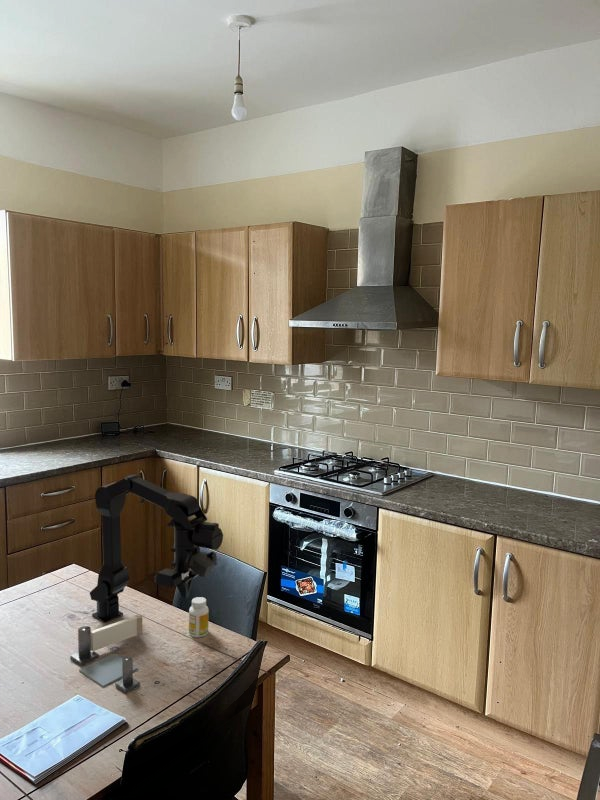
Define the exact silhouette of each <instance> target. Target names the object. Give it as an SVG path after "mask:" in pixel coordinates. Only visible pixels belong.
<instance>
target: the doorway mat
mask: <svg viewBox="0 0 600 800" xmlns="http://www.w3.org/2000/svg"><path fill="white" fill-rule="evenodd" d="M123 658H124V657H121V656H119V655H118V654H116V653H111V654H110V655H108V656H105V657H103V658H101V659H99V660H97V661H95V662H93V663H89V665H88V664H87V665H86V666H85V667H82V668H80V669H79V673H81V674H83V675H84V676H86V677H87V678H89V679H90V680H92V681H93V682H95V683H96V684H97V685H99V686H100V687H101V688H105V687H107V686H109V685H111V684H112V683H114V682H117V681H119V680H121V679H122V659H123ZM137 670H139V667H138V666H136V665H134V664H133V673H134V672H136V671H137Z"/></svg>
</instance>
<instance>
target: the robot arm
mask: <svg viewBox="0 0 600 800" xmlns="http://www.w3.org/2000/svg"><path fill="white" fill-rule="evenodd" d="M130 493H131V494H133V495H136V496H137V497H140V498H141V499H143V500H145V501H147V502H149V503H152V504H154V505H156V506H158V507H160V508H161V509H163V510H164V512H165V514H166V515H167V517H170V518H171V520H170V521H169V522H168V523H167V525H166V526H168V527H170V528H173V535H174V536H173V538H174V544H173V546H171V547H170V550H171V551H170V552H173V554H174V560H173V561H171V562H170V563H171V564H170V566H171V567H174V569H170V568H164V569H162V570H160V571H158V572H157V573H156V574H154V583H155V584H156V585H161V586H164V587H168V588H175V587H176V588H177V590H178V592H179V593H180V595H181V597H182V599H184V600H187V599H188V598H189V596H190V593H191V589H192V586H193V583H194V580H195V578H196V577H198V576H199V577H201V578H204V577H206V576H207V575H209V574H212V572H213V569H214V567H215V566H217V563H218V562H217V561H218V559H217V553H216V552H214V551H216V550H219V549H220V548H221V545H222V543H223V539H224V533H223V530H222V529H221V527H219V526H220V525H219V523H217V522H210V521H209V522H208V518H207V516H206V515H205V512H204V511H203V509H202V507H201V506H200V504H199V501H198V498H196V497H195V496H193V495H190V494H186V493H181V492H180V493H179V492H172V491H170V490H167V488H164V487H161V486H159V485H157V484H155V483H153V482H151V481H148V480H146V479H144V478H142V477H141V476H139V475H138V474H131V475H128V476H126V477H123V478H122V479H120V480H119V481H114V482H111V483H109V484H106V485H103V486H100V487H98V488H97V489H96V490H95V491H94V500H95V506H96V509H97V510H98V512H99V513H100V515H101V525H102V526H101V527H102V556H103V557H102V559H103V564H102V566H101V568H100V570H99V572H98V575H97V576H98V577H97V582H96V583H97V584H96V586H95V587H94V588H93V589H92V590H91V591H89V596H90V600H92V601H95V602H96V612H93V613H92V614H91V616H92V617H94V618H95V619H97V620H98V621H101V622H103V623H108V622H110V621H112V620H115V619H117V618H119V617H121V616H123V615H124V613H123V612H122V611H120V603H119V594H120V593H123V592H124V590H125V588H126V587H127V586H128V584H129V581H130V580H131V579H130V568H129V567H128V566H125V565H124V563H123V562H122V541H121V540H122V536H121V535H122V534H121V513H122V511H123V509H124V507H125V504H126V500H127V499H126V498H127V495H128V494H130ZM192 517H194V518H192ZM190 518H192V519H190ZM201 548H204V549H209V550H211V551H210V552H209V553H208V552H205V551H201ZM212 550H213V551H212Z"/></svg>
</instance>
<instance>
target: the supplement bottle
mask: <svg viewBox="0 0 600 800" xmlns="http://www.w3.org/2000/svg"><path fill="white" fill-rule="evenodd" d="M209 611H210V610H209V607H208V606H207V599H206V598H205V597H203V596H201V597H200V596H199V597H198V596H196V597H194V598H192V600H191V606H190V607H189V610H188V633H189V636H191V637H192V638H202V637H205V636H206V635H208V633H209V614H210V613H209Z"/></svg>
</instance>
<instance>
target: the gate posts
mask: <svg viewBox="0 0 600 800" xmlns="http://www.w3.org/2000/svg"><path fill="white" fill-rule="evenodd" d="M91 631H92V630H91V627H90V626H85V625H84V626H81V627H79V628H78V629H77V634H78V635H77V641H78V643H77V645H78V646H77V649H78V650H77V652H75V653H72V654H71V655H70V656H69V658H70V660H71V661H73V662H74V663H76V664H77V665H79V666H80V667H83V666H85V665H88V664H91V662H94V661H96V660H98V659H100V654H99V653H98V652H96V651H92V650H91ZM122 658H123V659H122V678H121V679H119V680H117V681H115V688H117V690H120V691H121V692H123V693H124V694H128V693H130V692H131V691H134V690H135V689H137V688H139V687H141V682H140V681H139V680H138V679H136V678H135V677H134V672H133V665H134V657H133V656H131V655H128V656H123V657H122Z"/></svg>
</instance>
